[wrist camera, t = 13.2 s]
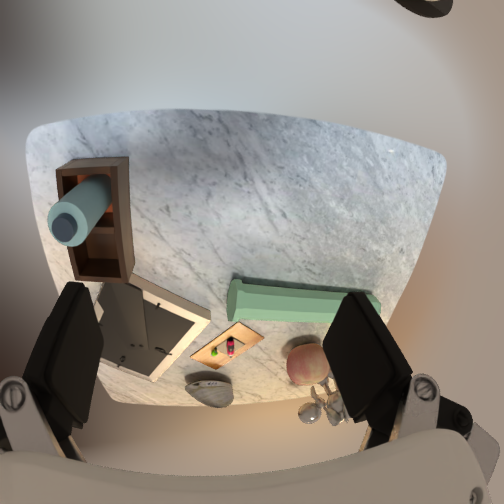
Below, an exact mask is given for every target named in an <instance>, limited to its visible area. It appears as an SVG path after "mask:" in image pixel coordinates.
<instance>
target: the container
mask: <svg viewBox="0 0 504 504" xmlns="http://www.w3.org/2000/svg"><path fill="white" fill-rule="evenodd" d="M347 294H348V293H340V292H327V291H315V290H304V289H292V288H282V287H272V286H262V285H252V284H243V283H242V280H238V279H235V280H233V281H231V283H230V287H229V291H228V296H227V309H226V310H227V317H228V321H233V322H239V319H248V320H265V321H285V322H316V323H332V322H333V319H334V317H335V315H336V313H337V311H338V308H339V306H340V304H341V302H342V300H343V298H344V296H347ZM366 296H367V297H368V299H369V300H370V302H371V303H372V305H373V306H374V308H375V310H376V311H377V313H378V314H379V315H380V313H381V303H380V302H379V301H378V299H377V298H376V297H375V296H374V295H368V294H366Z"/></svg>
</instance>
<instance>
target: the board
mask: <svg viewBox="0 0 504 504" xmlns="http://www.w3.org/2000/svg"><path fill="white" fill-rule="evenodd" d="M263 339H264V337H263V336H261V335H260V334H258V333H256V332H255V331H253V330H251V329H250V328H248V327H247V326H245V325H243V324H242V323H240V322H237V323H236V324H234V325H233V326H232V327H230V328H229V329H228V330H226V331H225V332H223V333H222V334H221V335H219V336H218V337H217V338H215V339H214V340H212V341H211V342H210V343H208V344H207V345H205V346H204V347H203V348H201V349H200V350H198V351H197V352H196V353H194V354H193V355H191V356H190V358H192V359H194V360H197V361H199V362H201V363H203V364H205V365H207V366H209V367H211V368H213V369H215V370H217V369H218V368H220V367H222V366H223V365H225V364H226V363H228V362H229V361H231V360H232V359H234V358H236V357H237V356H239V355H240V354H242V353H243V352H245V351H246V350H248V349H249V348H251V347H252V346H254V345H255V344H257V343H258V342H260V341H261V340H263Z"/></svg>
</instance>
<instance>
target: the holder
mask: <svg viewBox="0 0 504 504" xmlns="http://www.w3.org/2000/svg"><path fill="white" fill-rule="evenodd" d="M92 174H106V175H108V176H109V177H110V178H111V196H112V204H111V205H110V206H109V207H108V209H107V210H106V211H105V213H104V214H103V215H102V216H101V218H100V219H99V220H98V222H97V223H96V225H95V226H94V227H93V229H92V230H91V231H90V233H89V234H88V236H87V237H86V238H85V240H84V241H83V242H82V243H81V244H79V245H77V246H73V247H70V246H67V249H68V253H69V257H70V261H71V265H72V269H73V273H74V277H75V280H78V281H80V280H81V281H91V282H107V283H127V284H128V283H129V280H130V277H131V274H132V271H133V268H134V265H135V257H134V248H133V238H132V226H131V212H130V192H129V157H104V158H87V159H73V160H71V161H70V162H68V163H66V164H64V165H63V166H61V167H59V168H58V169H56V180H57V190H58V198H59V200H60V199H61V198H63V197H64V196H65V195H66V194H67V193H68V192H70V191H71V190H72V189H73V188H74V187H76V186H77V185H78V184H79V183H81V182H82V181H83V180H84V179H86V178H87V177H88V176H90V175H92Z"/></svg>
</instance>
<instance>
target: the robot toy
mask: <svg viewBox="0 0 504 504" xmlns="http://www.w3.org/2000/svg"><path fill="white" fill-rule="evenodd" d="M328 377H330V378H332V379H333V380H334V384H335V387H336V391H334V392H331V390H330V388H329V386H328V382H329V379H328ZM317 384H319V385H321V386H322V387H324V389H325V391H326V393H327V395H328V399H327V404H326V403H325V400H324V399H322V398H320V397H319V396H318V395H317V394H316V392H315V388H314V386H312V387H311V396H312V397H313V398H314V399H315V403H312V402H309V403H305V404H303V405H302V406H301V407H300V409H299V412H298V416H299V418H300V420H301V421H302V422H304V423H307V424H312V423H314V422H316V421H317V420H318V419H319V418H320V416H321V408H323V409H324V410H325V411H326V413H327V417H328V420H329V422H330V423H331V424H332V426H336V425H338V424H340V423H341V422H342V420H344V421H346V422H347V421H348V418H351V417H350V416H349V415H348V413H347V410H346V407H345V405H344V402H343V399H342V397H341V394H340V391H339V389H338V386H337V384H336V381H335V379H334V376H333V373H332V371H331V368H330V369H329V373H328V375H327V376H326V378H325V379H324V380H322V381H320V382H319V383H317ZM326 405H327V408H326V407H325V406H326Z"/></svg>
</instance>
